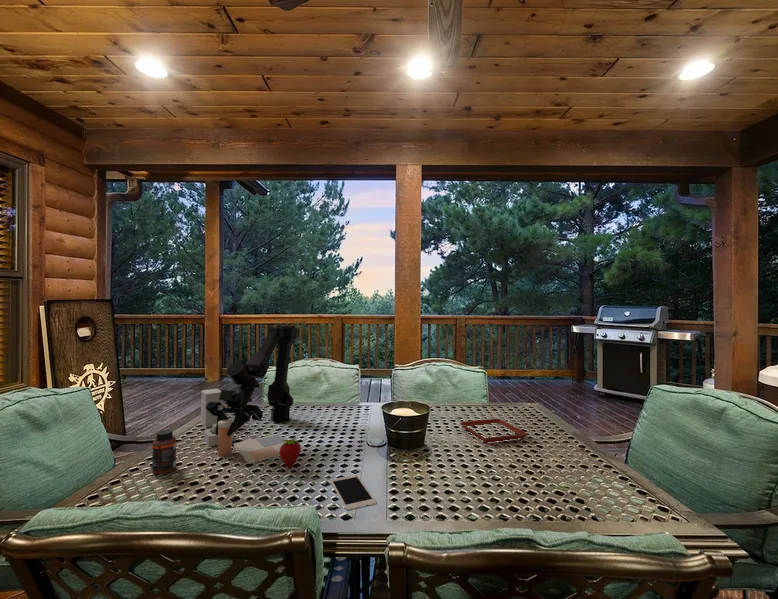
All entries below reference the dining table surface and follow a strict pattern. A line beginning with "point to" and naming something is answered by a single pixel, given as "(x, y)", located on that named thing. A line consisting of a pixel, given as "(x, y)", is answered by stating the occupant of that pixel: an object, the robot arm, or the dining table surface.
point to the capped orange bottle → (224, 438)
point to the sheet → (260, 448)
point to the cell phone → (352, 492)
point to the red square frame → (493, 439)
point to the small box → (206, 397)
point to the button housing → (212, 438)
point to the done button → (214, 428)
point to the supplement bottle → (164, 452)
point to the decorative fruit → (290, 452)
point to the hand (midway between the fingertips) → (222, 435)
